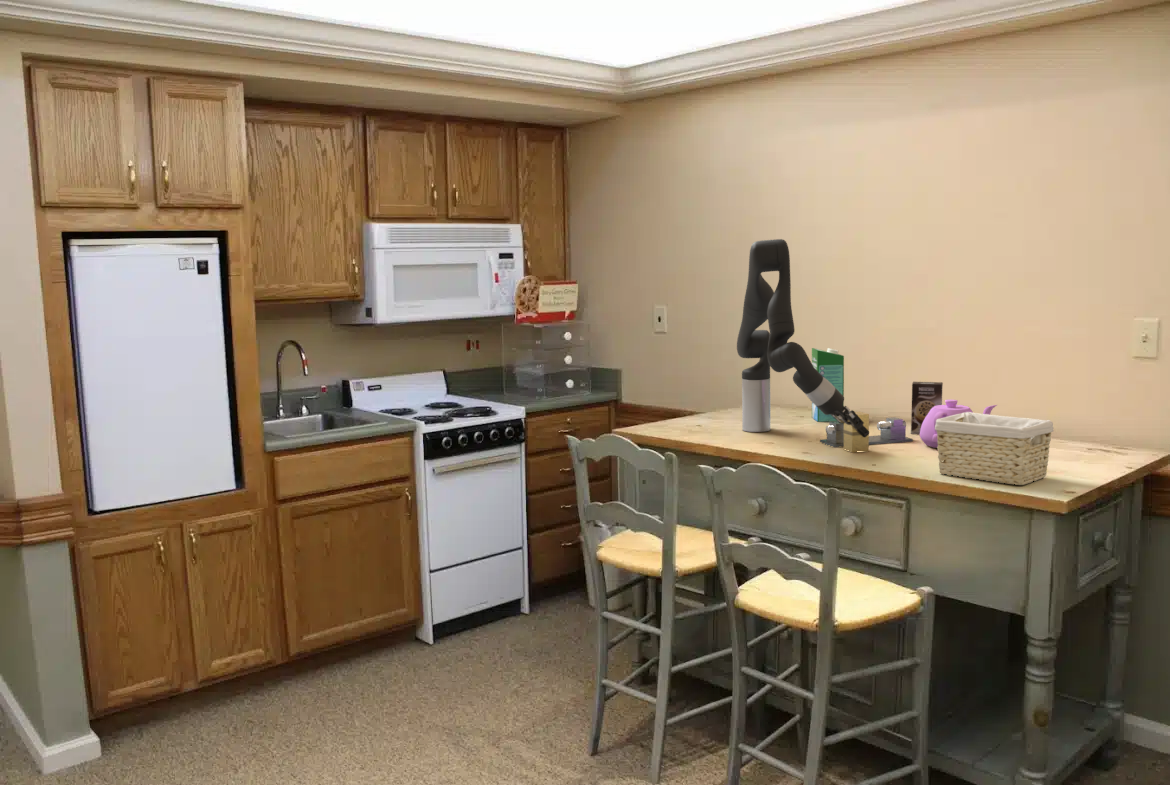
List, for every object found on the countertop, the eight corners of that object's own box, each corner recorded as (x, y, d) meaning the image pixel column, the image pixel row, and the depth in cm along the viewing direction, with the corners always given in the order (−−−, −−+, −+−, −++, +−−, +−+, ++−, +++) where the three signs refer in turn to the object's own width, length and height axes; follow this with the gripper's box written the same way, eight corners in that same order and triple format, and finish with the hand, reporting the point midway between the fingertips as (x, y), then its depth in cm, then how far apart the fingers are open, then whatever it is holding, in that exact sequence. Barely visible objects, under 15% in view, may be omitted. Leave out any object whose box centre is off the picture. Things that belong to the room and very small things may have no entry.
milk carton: (843, 421, 329) (844, 349, 326) (817, 421, 330) (817, 349, 326) (837, 417, 338) (837, 346, 335) (811, 417, 338) (811, 347, 335)
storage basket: (931, 474, 246) (932, 418, 244) (963, 464, 256) (964, 410, 254) (1023, 489, 227) (1025, 428, 225) (1054, 478, 238) (1056, 419, 236)
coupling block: (852, 452, 276) (852, 415, 274) (843, 449, 281) (843, 412, 279) (868, 451, 277) (869, 414, 275) (859, 448, 282) (860, 411, 280)
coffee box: (910, 434, 302) (911, 383, 300) (911, 430, 308) (912, 381, 305) (941, 435, 298) (942, 384, 296) (941, 431, 304) (942, 381, 302)
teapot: (982, 457, 264) (983, 408, 262) (906, 449, 278) (906, 402, 277) (1009, 445, 280) (1011, 398, 278) (937, 437, 294) (937, 393, 293)
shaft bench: (833, 447, 284) (833, 425, 283) (819, 442, 293) (819, 421, 292) (912, 441, 290) (912, 420, 289) (896, 436, 298) (897, 415, 297)
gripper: (844, 388, 268) (883, 427, 272) (821, 382, 281) (858, 420, 286) (826, 408, 267) (865, 447, 271) (804, 401, 281) (841, 438, 285)
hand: (861, 433), depth 278 cm, fingers closed on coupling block, 5 cm apart
